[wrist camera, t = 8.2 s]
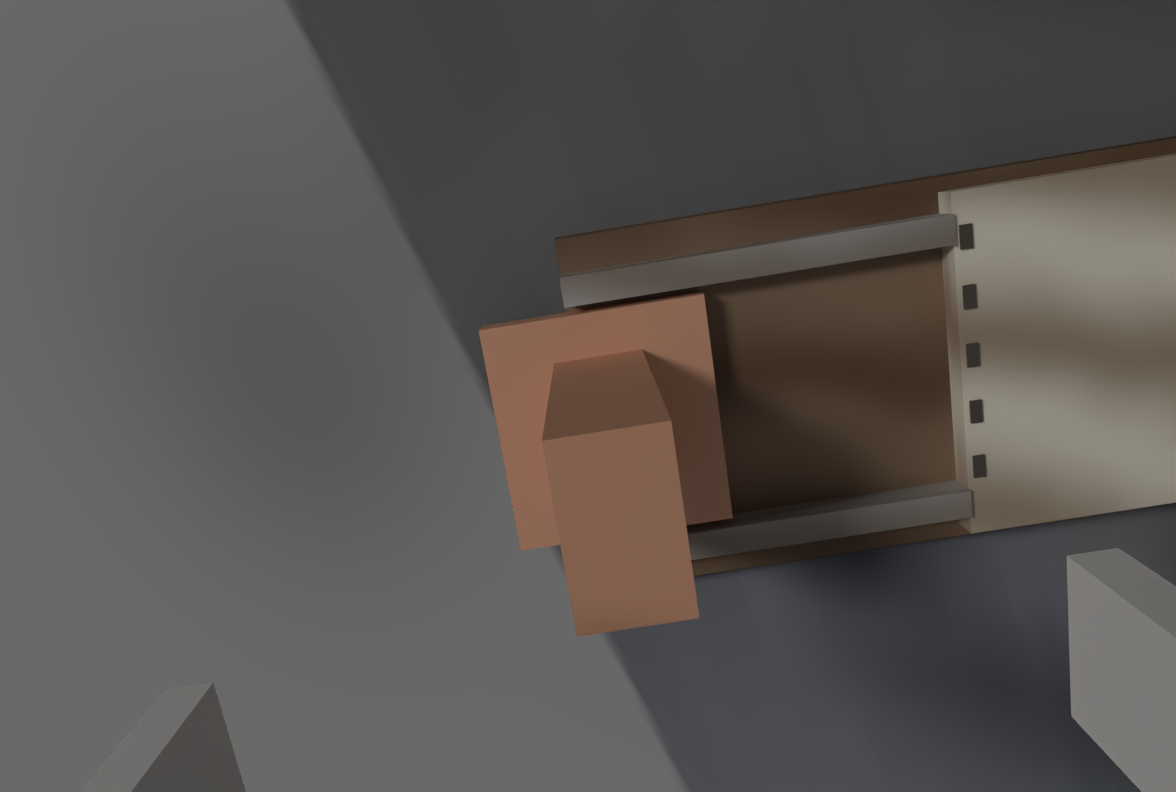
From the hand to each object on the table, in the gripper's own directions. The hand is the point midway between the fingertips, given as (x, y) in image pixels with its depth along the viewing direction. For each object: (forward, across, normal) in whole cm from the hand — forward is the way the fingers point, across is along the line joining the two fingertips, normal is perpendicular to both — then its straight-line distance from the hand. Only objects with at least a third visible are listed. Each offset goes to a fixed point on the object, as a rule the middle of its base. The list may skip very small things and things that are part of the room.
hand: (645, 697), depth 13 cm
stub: (+17, 0, 0) cm, 17 cm away
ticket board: (+19, +13, 0) cm, 23 cm away
